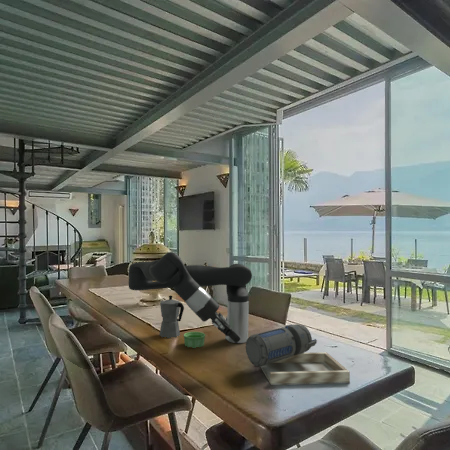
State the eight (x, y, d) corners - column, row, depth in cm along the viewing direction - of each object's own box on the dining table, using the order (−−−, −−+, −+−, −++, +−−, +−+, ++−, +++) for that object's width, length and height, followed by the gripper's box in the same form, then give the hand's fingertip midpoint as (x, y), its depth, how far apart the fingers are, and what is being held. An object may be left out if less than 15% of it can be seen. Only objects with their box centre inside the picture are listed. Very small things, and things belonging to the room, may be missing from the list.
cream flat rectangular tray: (270, 385, 106) (271, 373, 106) (258, 363, 124) (258, 353, 124) (349, 383, 109) (349, 371, 109) (326, 361, 127) (326, 352, 127)
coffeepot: (152, 334, 158) (153, 294, 159) (168, 330, 165) (169, 292, 166) (174, 341, 148) (175, 299, 149) (190, 337, 155) (191, 296, 156)
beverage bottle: (238, 355, 122) (291, 340, 135) (262, 374, 111) (317, 356, 124) (240, 328, 120) (293, 315, 134) (264, 344, 109) (320, 329, 122)
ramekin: (188, 341, 150) (188, 330, 150) (208, 343, 147) (208, 332, 147) (179, 347, 141) (180, 336, 141) (200, 349, 139) (200, 338, 139)
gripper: (193, 307, 120) (227, 342, 121) (194, 316, 107) (232, 355, 108) (208, 292, 121) (243, 327, 122) (211, 298, 108) (249, 338, 108)
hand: (238, 340), depth 115 cm, fingers closed
